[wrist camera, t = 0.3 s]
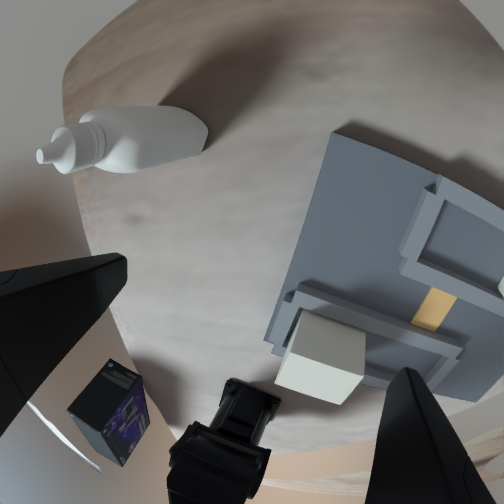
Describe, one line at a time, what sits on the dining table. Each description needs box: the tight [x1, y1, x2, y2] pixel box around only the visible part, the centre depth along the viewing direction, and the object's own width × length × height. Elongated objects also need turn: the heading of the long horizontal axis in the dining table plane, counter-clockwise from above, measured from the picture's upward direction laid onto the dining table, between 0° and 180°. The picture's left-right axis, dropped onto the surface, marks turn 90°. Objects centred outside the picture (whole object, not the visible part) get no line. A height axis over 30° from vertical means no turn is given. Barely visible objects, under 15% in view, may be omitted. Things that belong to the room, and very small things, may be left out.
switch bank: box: [264, 132, 504, 402], centre depth 18 cm, size 17×24×2 cm
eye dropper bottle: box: [37, 106, 208, 174], centre depth 15 cm, size 4×6×12 cm
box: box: [67, 359, 150, 467], centre depth 36 cm, size 17×7×12 cm, turn 169°
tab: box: [274, 308, 366, 405], centre depth 19 cm, size 4×5×5 cm
